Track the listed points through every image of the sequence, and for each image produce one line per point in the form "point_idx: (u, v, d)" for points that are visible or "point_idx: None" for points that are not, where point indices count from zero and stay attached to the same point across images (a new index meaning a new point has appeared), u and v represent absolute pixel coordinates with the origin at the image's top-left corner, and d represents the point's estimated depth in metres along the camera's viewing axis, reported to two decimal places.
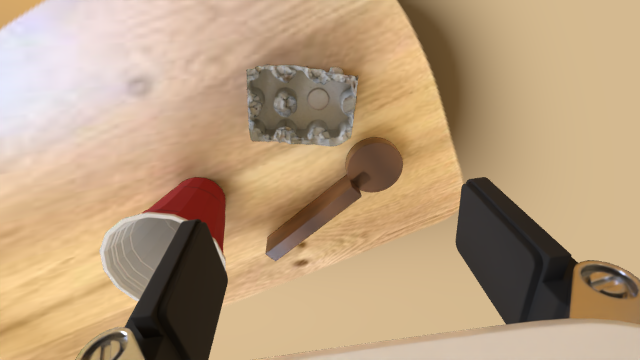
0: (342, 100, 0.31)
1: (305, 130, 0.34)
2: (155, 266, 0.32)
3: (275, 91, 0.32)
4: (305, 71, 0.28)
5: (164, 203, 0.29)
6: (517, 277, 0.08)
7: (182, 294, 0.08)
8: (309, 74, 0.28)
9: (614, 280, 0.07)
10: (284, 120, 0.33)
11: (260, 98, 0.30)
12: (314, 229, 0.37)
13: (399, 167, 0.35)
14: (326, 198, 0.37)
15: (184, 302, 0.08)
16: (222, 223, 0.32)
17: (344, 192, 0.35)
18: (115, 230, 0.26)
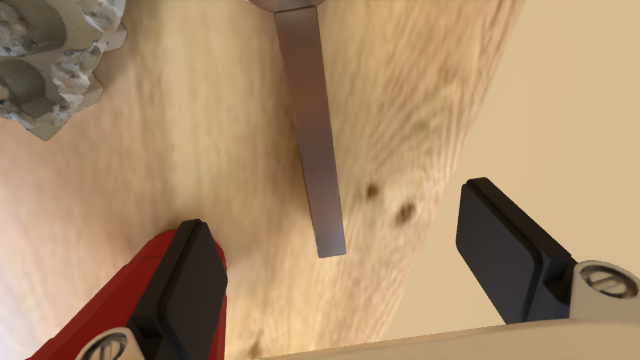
0: None
1: (124, 32, 0.15)
2: None
3: None
4: None
5: None
6: (517, 277, 0.08)
7: (182, 294, 0.08)
8: None
9: (614, 280, 0.07)
10: None
11: None
12: (329, 159, 0.16)
13: None
14: None
15: (184, 302, 0.08)
16: None
17: None
18: None
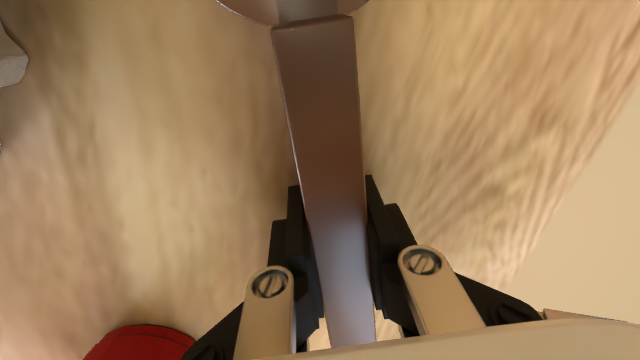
0: None
1: (20, 58, 0.09)
2: None
3: None
4: None
5: None
6: (371, 261, 0.09)
7: None
8: None
9: (423, 257, 0.08)
10: None
11: None
12: (361, 263, 0.10)
13: None
14: None
15: None
16: None
17: (279, 80, 0.07)
18: None
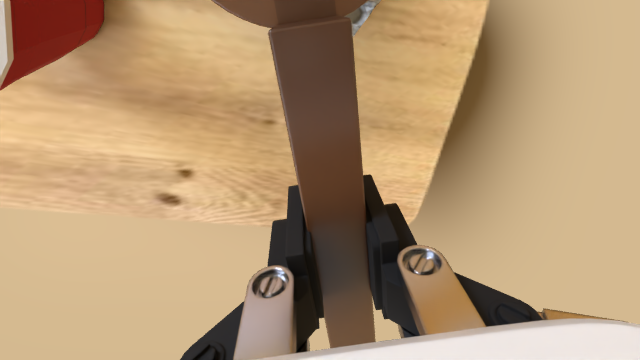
0: None
1: None
2: None
3: None
4: None
5: None
6: (371, 261, 0.09)
7: None
8: None
9: (423, 258, 0.08)
10: None
11: None
12: (360, 263, 0.10)
13: None
14: None
15: (313, 250, 0.10)
16: (63, 29, 0.16)
17: (278, 81, 0.07)
18: None
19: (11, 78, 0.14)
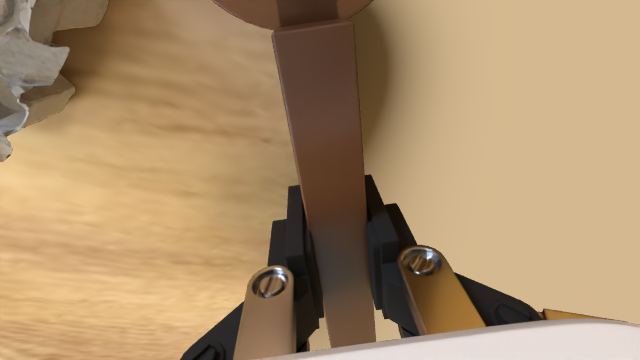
0: None
1: None
2: None
3: None
4: None
5: None
6: (371, 261, 0.09)
7: None
8: None
9: (423, 257, 0.08)
10: None
11: None
12: (361, 264, 0.10)
13: None
14: None
15: (313, 250, 0.10)
16: None
17: None
18: None
19: None
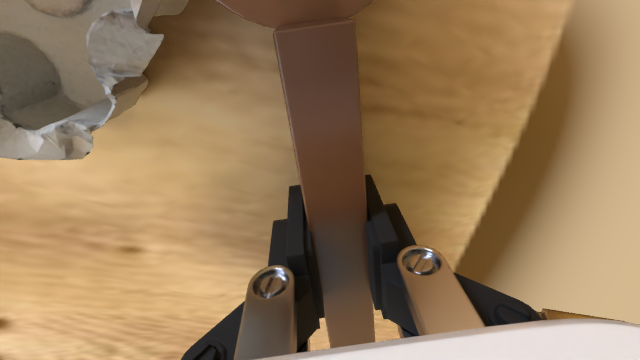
0: None
1: None
2: None
3: None
4: None
5: None
6: (371, 261, 0.09)
7: (312, 243, 0.09)
8: None
9: (422, 258, 0.08)
10: None
11: None
12: (361, 263, 0.10)
13: None
14: None
15: (313, 250, 0.10)
16: None
17: None
18: None
19: None
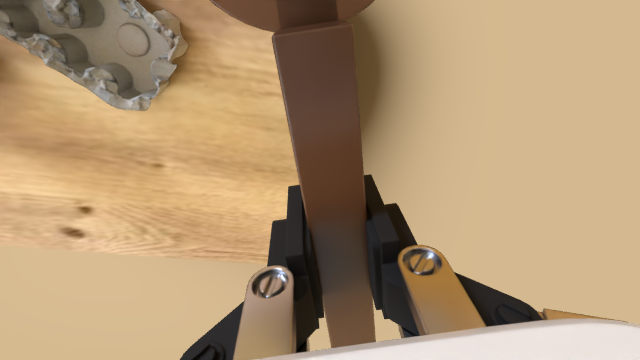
0: (156, 58, 0.22)
1: None
2: None
3: None
4: None
5: None
6: (371, 261, 0.09)
7: (312, 243, 0.09)
8: None
9: (423, 258, 0.08)
10: (71, 36, 0.22)
11: None
12: (361, 263, 0.10)
13: None
14: None
15: (313, 250, 0.10)
16: None
17: (281, 85, 0.07)
18: None
19: None
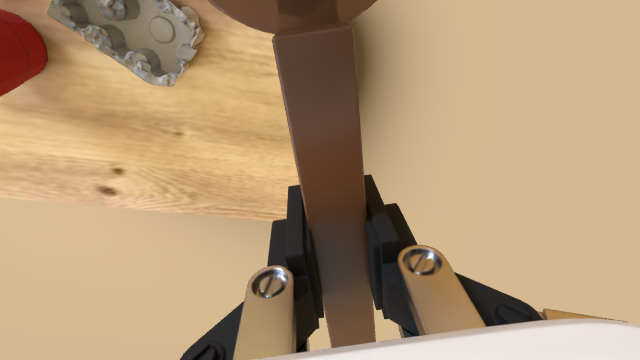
0: (181, 44, 0.28)
1: None
2: None
3: None
4: None
5: None
6: (371, 261, 0.09)
7: (312, 243, 0.09)
8: None
9: (423, 257, 0.08)
10: (113, 26, 0.28)
11: None
12: (361, 264, 0.10)
13: None
14: None
15: (313, 250, 0.09)
16: (9, 76, 0.25)
17: (281, 87, 0.07)
18: None
19: None
